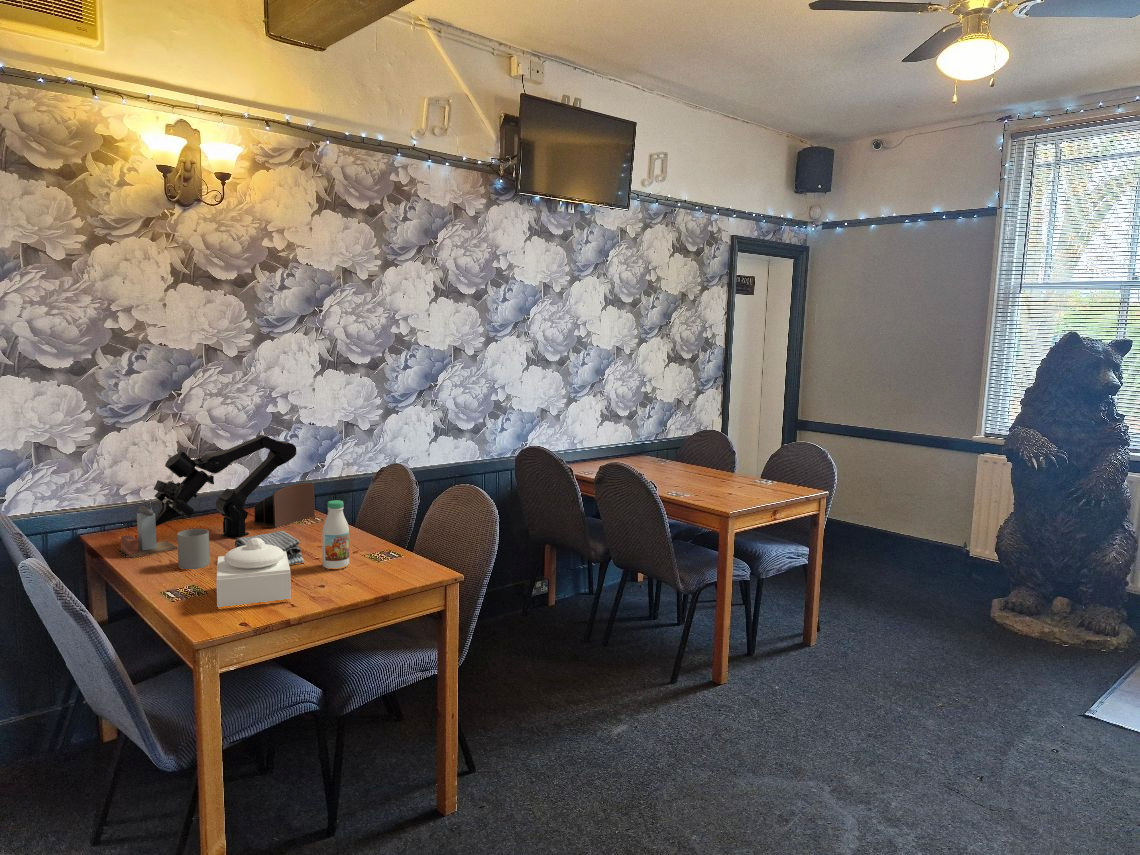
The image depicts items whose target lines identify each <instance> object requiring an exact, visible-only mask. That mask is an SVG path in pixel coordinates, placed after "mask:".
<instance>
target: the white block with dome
mask: <svg viewBox="0 0 1140 855" xmlns="http://www.w3.org/2000/svg"><path fill="white" fill-rule="evenodd" d="M216 560H217V563H216V608H217V607H222V606H223V607H224V606H233V605H241V604H249V603H250V604H251V603H258V602H268V601H274V600H284V599H291V597H292V595H291V593H292V591H291V590H292V589H291V588H292V586H291V580H292V579H291V578H292V577H291V566H289V562H288V558H287V553H286V551H283V550H282V549H281V548H279V547H277V546H273V545H268V544H265V542H264V541H263V540H262V539H260V538H252V539H250V540H249V541H248V542H247V544H246V545H244V546H240V547H237V548H236V547H234V548H232V549H230V550H229V551H227V552H226V554H225V555H221V556H220V555H219V556H218V557H217V559H216ZM291 600H292V599H291Z"/></svg>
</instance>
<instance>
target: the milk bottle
mask: <svg viewBox="0 0 1140 855" xmlns="http://www.w3.org/2000/svg"><path fill="white" fill-rule="evenodd" d="M326 504H327V515H326V518H325V521H324V523H323V526H322V540H321V543H322V545H321V546H322V547H321V548H322V549H321V550H322V551H321V553H322V555H321V558H322V559H321V560H322V567H323V566H324V567H326V568H340V567H344V566H347V565H348V564H349V565H350V530H349V528H350V527H349V523H348V521H347V519H346V517H345V514H344V509H345V508H344V506H345V505H344V501H343V500H336V499H335V500H329V501H327V503H326ZM324 567H323V568H324Z"/></svg>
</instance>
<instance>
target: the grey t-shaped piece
mask: <svg viewBox="0 0 1140 855" xmlns="http://www.w3.org/2000/svg"><path fill="white" fill-rule="evenodd" d="M138 511H139V512H137V513H136V525H137V526H136V527H137V528H136V529H137V540H138V548H140V549H141V550H149V549H154V548H157V546H156V543H157V526H156V520H155V519H156V513H155V512H154V510H152V509H151V508H148V507H146V506H144V505H139V507H138Z"/></svg>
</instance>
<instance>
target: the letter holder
mask: <svg viewBox="0 0 1140 855" xmlns="http://www.w3.org/2000/svg"><path fill="white" fill-rule="evenodd" d="M315 506H316V505H315V485H314V484H313V483H312V482H303V483H301V482H300V483H295V484H292V485H291V484H289V485H287V486H284V487H282V488H279V489H278V490H275V491H273V492H272V494H271V495H269V496H266V497H265V498H264V499H262V500H260V501H258V502H256V503H255V504H254V511H253V512H254V516H253V517H254V522H253V524H254V526H258V525H259V526H258V527H263V526H265V527H264V528H269V527H271V528H270V529H274V528H276V529H278V528H277V527H279V528H281V527H280V526H282V527H284V526H283V525H285V526H288V525H287V524H289V525H291V524H290V523H292V524H294V523H293V522H296V521H299V522H301V521H300V520H303V519H306V518H309V517H313V516H315V515H316V514H315V513H316V512H315ZM315 517H316V516H315ZM313 518H314V517H313ZM309 519H310V518H309ZM306 520H307V519H306ZM303 521H304V520H303ZM296 523H297V522H296Z"/></svg>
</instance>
